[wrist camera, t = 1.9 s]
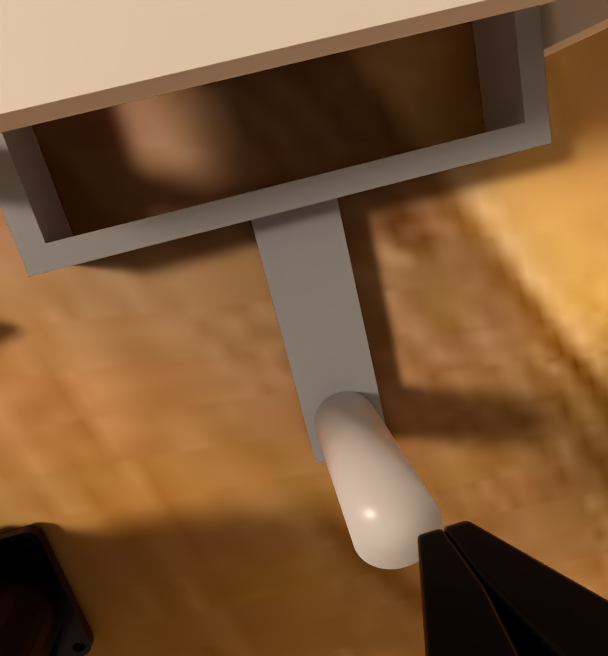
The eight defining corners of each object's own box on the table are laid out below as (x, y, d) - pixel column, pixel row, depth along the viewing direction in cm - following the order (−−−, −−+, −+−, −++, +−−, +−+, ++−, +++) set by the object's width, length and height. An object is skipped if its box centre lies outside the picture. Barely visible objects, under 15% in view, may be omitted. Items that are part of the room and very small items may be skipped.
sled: (535, 387, 20) (693, 488, 13) (150, 497, 19) (99, 670, 12) (439, -489, 13) (681, -1324, 6) (-195, -381, 12) (-830, -1231, 5)
